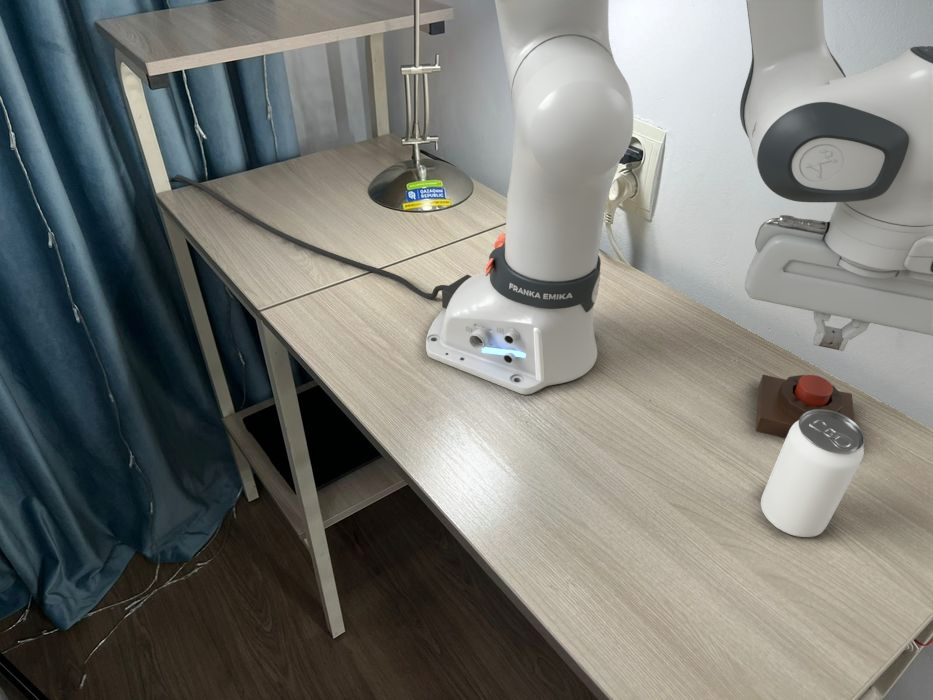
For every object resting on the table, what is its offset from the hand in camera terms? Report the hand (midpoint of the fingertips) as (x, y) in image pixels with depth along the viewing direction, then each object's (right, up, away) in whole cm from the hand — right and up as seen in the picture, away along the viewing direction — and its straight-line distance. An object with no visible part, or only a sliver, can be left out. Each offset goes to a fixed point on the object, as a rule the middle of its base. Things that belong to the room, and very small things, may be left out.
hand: (827, 345), depth 75 cm
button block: (0, -9, +7) cm, 11 cm away
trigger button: (0, -6, +4) cm, 7 cm away
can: (-6, -17, -4) cm, 19 cm away
